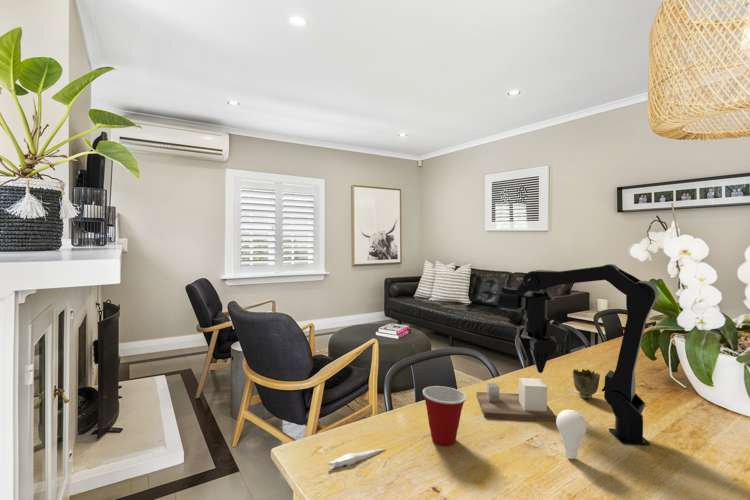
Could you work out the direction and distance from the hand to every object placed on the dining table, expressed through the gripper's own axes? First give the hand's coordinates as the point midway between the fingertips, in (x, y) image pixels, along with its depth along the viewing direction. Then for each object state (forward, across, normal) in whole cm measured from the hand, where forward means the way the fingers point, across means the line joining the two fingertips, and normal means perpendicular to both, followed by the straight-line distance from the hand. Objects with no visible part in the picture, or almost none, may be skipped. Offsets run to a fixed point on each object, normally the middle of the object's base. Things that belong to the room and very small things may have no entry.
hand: (535, 367), depth 109 cm
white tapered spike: (+13, -30, +47) cm, 57 cm away
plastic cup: (+13, -19, +27) cm, 36 cm away
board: (+13, +1, +6) cm, 14 cm away
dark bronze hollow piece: (+13, +10, -19) cm, 25 cm away
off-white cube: (+11, -1, +1) cm, 11 cm away
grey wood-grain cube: (+11, +2, +11) cm, 16 cm away
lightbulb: (+13, -24, 0) cm, 28 cm away
